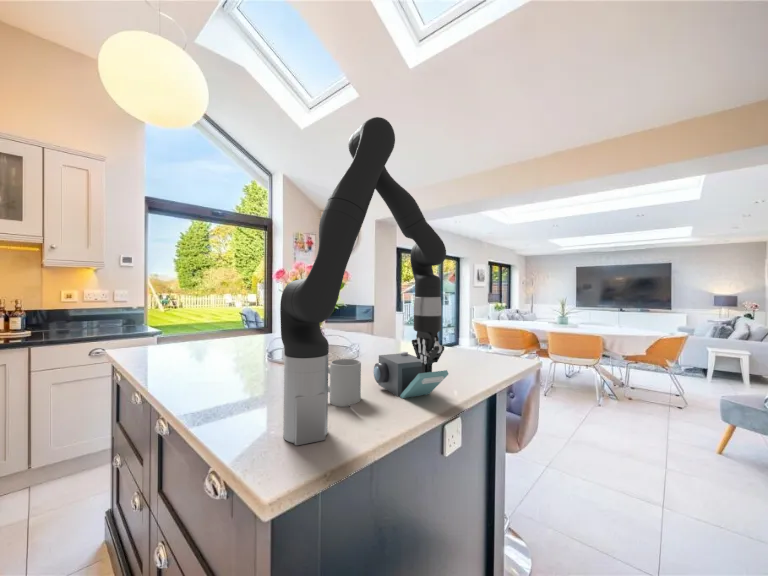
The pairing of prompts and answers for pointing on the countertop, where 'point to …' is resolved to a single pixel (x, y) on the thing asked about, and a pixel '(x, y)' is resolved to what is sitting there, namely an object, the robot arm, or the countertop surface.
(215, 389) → the countertop surface
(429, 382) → the side door
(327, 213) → the robot arm
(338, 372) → the mug
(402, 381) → the camera box
